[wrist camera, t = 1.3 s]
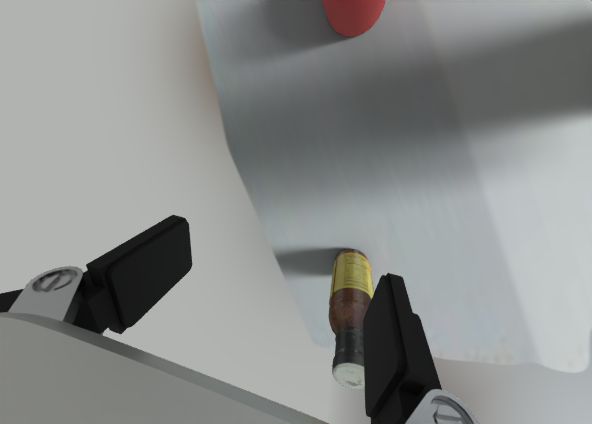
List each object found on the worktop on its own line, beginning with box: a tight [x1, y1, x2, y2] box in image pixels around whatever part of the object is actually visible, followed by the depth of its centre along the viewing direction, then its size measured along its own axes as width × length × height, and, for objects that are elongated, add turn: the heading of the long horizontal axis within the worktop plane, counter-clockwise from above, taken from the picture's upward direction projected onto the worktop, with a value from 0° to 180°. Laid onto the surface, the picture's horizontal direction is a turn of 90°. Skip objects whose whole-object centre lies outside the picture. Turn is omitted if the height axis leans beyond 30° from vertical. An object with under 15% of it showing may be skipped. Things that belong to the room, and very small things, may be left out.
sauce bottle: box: [329, 249, 374, 389], centre depth 31 cm, size 7×6×20 cm
